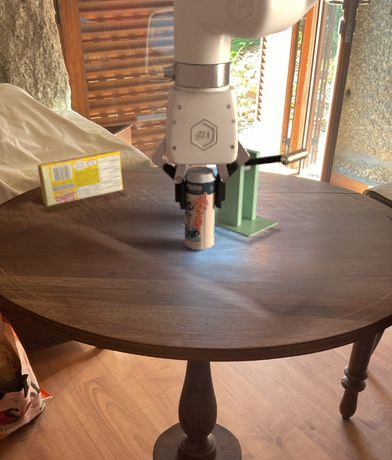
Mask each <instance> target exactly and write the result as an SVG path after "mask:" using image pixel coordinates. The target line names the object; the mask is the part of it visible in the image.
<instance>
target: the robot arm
mask: <svg viewBox="0 0 392 460" xmlns="http://www.w3.org/2000/svg"><path fill="white" fill-rule="evenodd" d="M172 2H173V3H172V7H173V9H172V11H173V15H172V16H173V63H171V65H168V66H162V67H163V68H162V71H163V72H162V74H163V76H162V77H163V78H164V79H166V78H167V79H169V80H171V81H172V82H173V84H171V85H169V89H168V95H167V101H166V103H167V104H166V112H165V128H164V130H165V132H164V133H165V135H164V137H162V140H161V141H160V142H159V144H158V145H157V146H156V147H155V149H154V151H153V152H152V154H151V155H150V161H151V162H152V164H154V165H156V166H157V167H158V168H159V169H161V170H162V171H163V172H164V173H165V174H166V175H167V176H168V177H170V179H172V180H173V181H174V201H175V203H178V204H179V208H180V210H181V211H183V210H184V211H185V209H186V184H185V178H184V176H185V171H186V167H187V166H212V165H213V166H214V165H215V168H216V172H217V173H216V175H215V176H216V195H215V209H217V208H221V201H225V191H226V182H227V181H228V179H229V177H230V176H231V175H232V174H233V173H234V172H235V171H236V170H237V169H238V168H239V167H240V166H242V165H243V164H244V163H246V162H247V161H248V160H249V159H250V155H249V154H248V152H247V151H246V149H247V148H246V147H244V145H243V143H242V142H241V141H240V139H239V119H238V114H239V113H238V101H237V92H236V87H234V86H233V85H231V84H230V77H231V76H230V73H231V51H232V38H236V39H241V40H257V39H261V38H264V37H267V36H270V35H274V34H278V33H282V32H284V31H287V30H288V29H290V28H291V27H294V25H296V24H297V23H298V22H299V21H301V19H302V18H303V17H304V16H305V15H306V14H307V13H308V12H309V11H310V10H311V9H312V7H314V6H315V5H316V3H317V2H319V0H173V1H172ZM245 148H246V149H245ZM165 155H166V158H167V159H168V161H167V160H166V159H165V158H164V156H165Z"/></svg>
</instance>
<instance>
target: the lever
mask: <svg viewBox="0 0 392 460" xmlns="http://www.w3.org/2000/svg"><path fill="white" fill-rule="evenodd" d="M308 155H309V153H308V150H307V149H306V148H304V147H301V148H299V149H296V150H293V151H289V152H288V153H283V154H275V155H266V156H260V157H258V158H250V159H249V160H248V161H247V162H246V163H245V164H244V171H246V170H249V169H251V166H252V165H259V166H260V165H268V164H275V163H281V164H282V165H283V166H288V165H291V164H294V163H296V162H299V161H302V160H304V159H307V157H308Z"/></svg>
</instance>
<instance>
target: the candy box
mask: <svg viewBox="0 0 392 460" xmlns="http://www.w3.org/2000/svg"><path fill="white" fill-rule="evenodd" d="M121 165H122V164H121V151H118V150H116V149H115V150H109V151H103V152H99V153H93V154H89V155H84V156H78V157H73V158H68V159H67V158H66V159H63V160H56V161H51V162H47V163H46V162H45V163H41V164H37V171H38V177H39V183H40V189H41V195H42V202H43V204H44V205H45V206H47V207H49V206H53V205H59V204H63V203H67V202H71V201H73V202H74V201H77V200H81V199H85V198H92V197H96V196H100V195H105V194H108V193H109V194H110V193H114V192H118V191H119V192H120V191H122V190H124V185H123V176H122V166H121ZM47 207H44V209H45V210H46V211H50V209H49V208H47Z"/></svg>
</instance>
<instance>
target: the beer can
mask: <svg viewBox="0 0 392 460" xmlns="http://www.w3.org/2000/svg"><path fill="white" fill-rule="evenodd" d="M183 178H184V181H185V184H186V209H184V245H185V246H186V247H187V248H189V249H190V250H193V251H194V250H195V251H205V250H209V249H210V248H212V247H213V246H214V245H215V226H216V225H215V209H216V206H215V195H216V175H215V172H214V169H213V168H210V167H208V166H194V167H193V166H192V167H189V168H188V169H187V170H186V173H184V175H183Z"/></svg>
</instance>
